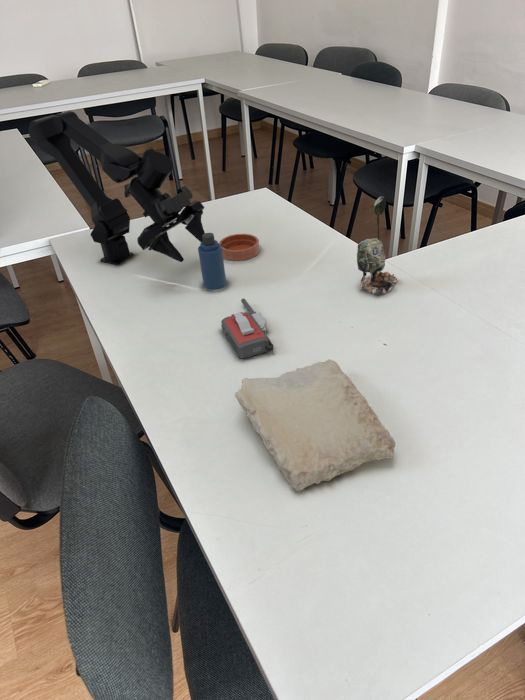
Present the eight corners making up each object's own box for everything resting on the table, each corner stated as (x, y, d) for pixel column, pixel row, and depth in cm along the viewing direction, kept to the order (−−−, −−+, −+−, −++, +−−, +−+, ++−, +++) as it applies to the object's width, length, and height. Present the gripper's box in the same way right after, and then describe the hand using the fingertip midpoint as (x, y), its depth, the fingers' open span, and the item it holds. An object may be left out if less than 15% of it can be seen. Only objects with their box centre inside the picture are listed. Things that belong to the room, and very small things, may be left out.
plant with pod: (344, 287, 120) (346, 203, 108) (382, 272, 125) (387, 189, 113) (367, 302, 115) (372, 214, 103) (406, 285, 119) (415, 200, 107)
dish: (218, 263, 134) (216, 252, 132) (222, 245, 143) (221, 234, 141) (258, 261, 134) (257, 250, 132) (260, 243, 142) (259, 232, 140)
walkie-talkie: (283, 351, 102) (247, 303, 118) (282, 332, 100) (245, 286, 115) (241, 364, 100) (210, 313, 115) (239, 345, 98) (207, 296, 113)
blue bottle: (200, 284, 126) (191, 234, 118) (219, 277, 128) (213, 227, 120) (210, 293, 122) (202, 242, 115) (230, 286, 124) (224, 235, 117)
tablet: (273, 505, 75) (401, 459, 77) (264, 470, 70) (400, 423, 73) (233, 401, 94) (337, 367, 97) (224, 369, 90) (333, 334, 92)
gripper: (135, 193, 109) (184, 251, 111) (192, 165, 121) (236, 219, 123) (117, 222, 118) (163, 276, 119) (172, 194, 130) (213, 243, 131)
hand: (195, 252), depth 123 cm, fingers open, 9 cm apart
